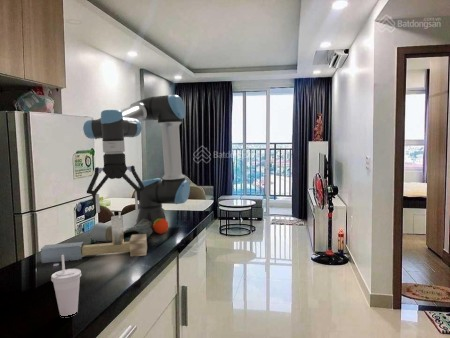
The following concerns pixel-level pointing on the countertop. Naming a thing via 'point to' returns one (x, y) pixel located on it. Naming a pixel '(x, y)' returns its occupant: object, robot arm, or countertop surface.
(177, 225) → the countertop surface
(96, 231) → the ceramic mug
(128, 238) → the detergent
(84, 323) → the countertop surface
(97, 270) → the countertop surface
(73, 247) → the sleeve
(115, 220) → the bar with upright post
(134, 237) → the socket block
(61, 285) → the smoothie
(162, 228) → the clementine
